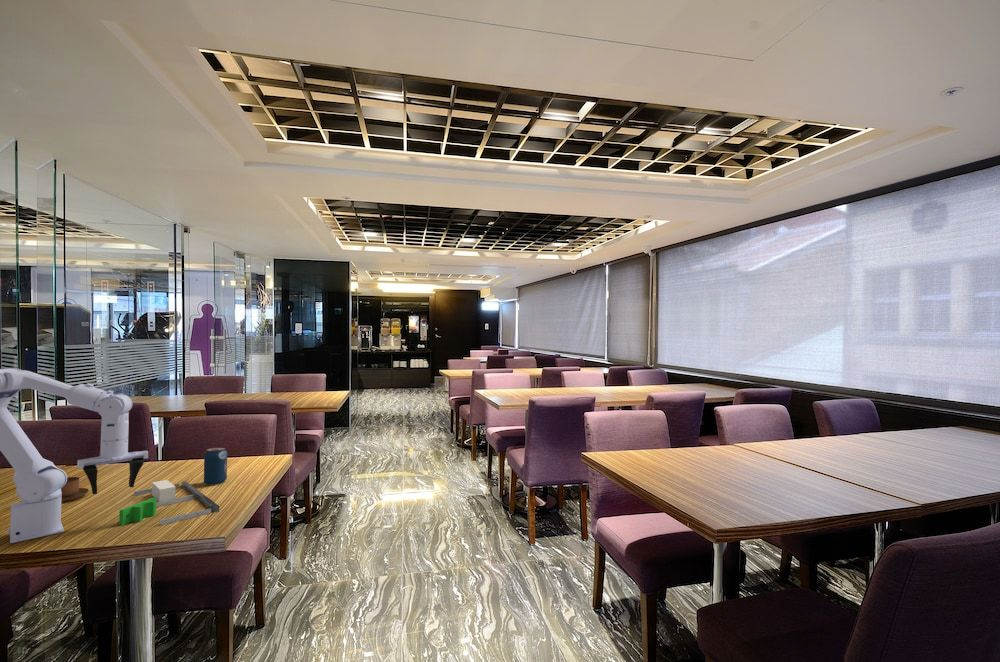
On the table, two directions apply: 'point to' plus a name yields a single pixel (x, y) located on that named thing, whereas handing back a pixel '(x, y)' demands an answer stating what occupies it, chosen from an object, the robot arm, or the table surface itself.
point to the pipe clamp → (137, 511)
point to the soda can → (215, 466)
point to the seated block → (163, 490)
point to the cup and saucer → (72, 489)
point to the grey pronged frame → (190, 489)
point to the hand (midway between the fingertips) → (113, 489)
